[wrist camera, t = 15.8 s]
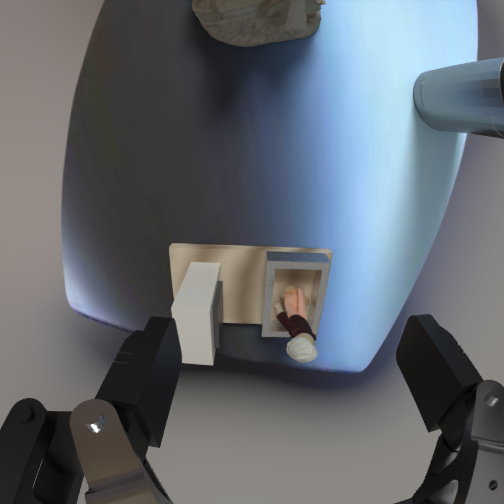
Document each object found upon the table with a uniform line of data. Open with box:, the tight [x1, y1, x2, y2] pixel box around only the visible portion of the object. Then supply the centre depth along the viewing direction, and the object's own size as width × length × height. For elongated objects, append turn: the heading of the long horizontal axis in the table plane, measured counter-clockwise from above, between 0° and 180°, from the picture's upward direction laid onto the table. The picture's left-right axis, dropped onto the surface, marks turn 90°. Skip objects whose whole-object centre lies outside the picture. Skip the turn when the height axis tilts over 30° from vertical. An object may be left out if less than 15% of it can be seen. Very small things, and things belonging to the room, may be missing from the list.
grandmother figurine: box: [273, 285, 317, 363], centre depth 34 cm, size 8×4×13 cm, turn 58°
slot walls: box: [261, 251, 331, 337], centre depth 38 cm, size 8×12×3 cm, turn 178°
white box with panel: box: [171, 262, 224, 365], centre depth 34 cm, size 5×8×11 cm, turn 178°
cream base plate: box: [169, 243, 332, 324], centre depth 40 cm, size 22×12×2 cm, turn 88°
